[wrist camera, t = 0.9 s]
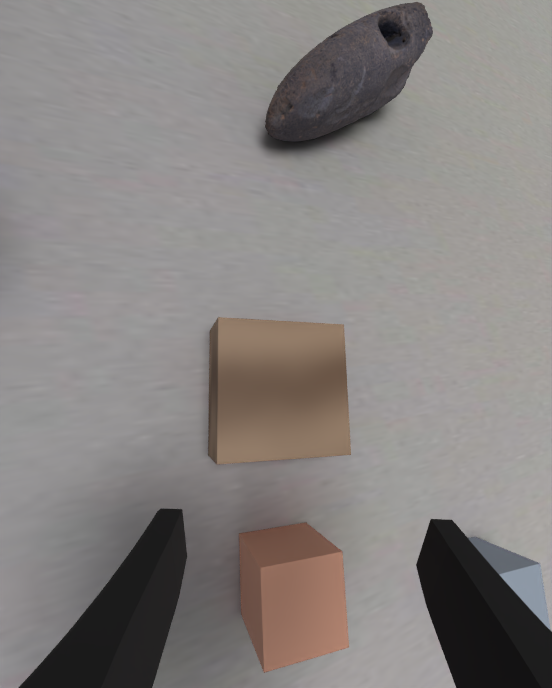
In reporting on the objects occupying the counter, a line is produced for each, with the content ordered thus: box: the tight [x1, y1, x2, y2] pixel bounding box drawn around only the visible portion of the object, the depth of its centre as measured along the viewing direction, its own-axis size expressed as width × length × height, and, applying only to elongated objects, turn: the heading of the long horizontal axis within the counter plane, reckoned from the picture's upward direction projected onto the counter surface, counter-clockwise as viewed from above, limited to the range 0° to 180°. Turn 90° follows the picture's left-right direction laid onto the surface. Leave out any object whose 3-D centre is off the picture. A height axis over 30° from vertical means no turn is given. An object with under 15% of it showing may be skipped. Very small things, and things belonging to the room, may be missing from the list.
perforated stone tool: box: [265, 2, 433, 141], centre depth 26 cm, size 15×5×7 cm, turn 128°
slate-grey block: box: [468, 537, 550, 630], centre depth 24 cm, size 4×4×5 cm
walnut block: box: [208, 317, 351, 464], centre depth 22 cm, size 8×8×4 cm
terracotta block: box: [239, 523, 349, 673], centre depth 20 cm, size 4×4×5 cm
